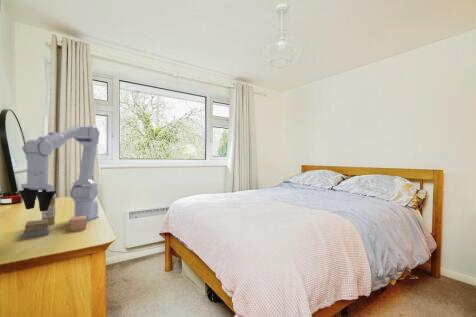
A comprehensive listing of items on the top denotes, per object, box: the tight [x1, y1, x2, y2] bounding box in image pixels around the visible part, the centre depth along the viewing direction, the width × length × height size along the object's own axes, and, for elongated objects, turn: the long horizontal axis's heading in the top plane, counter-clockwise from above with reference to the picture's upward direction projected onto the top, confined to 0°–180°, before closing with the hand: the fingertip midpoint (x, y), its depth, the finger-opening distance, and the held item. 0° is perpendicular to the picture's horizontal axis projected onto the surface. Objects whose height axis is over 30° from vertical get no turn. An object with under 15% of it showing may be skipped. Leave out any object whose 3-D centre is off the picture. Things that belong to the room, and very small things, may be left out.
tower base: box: [22, 225, 50, 239], centre depth 86 cm, size 7×7×2 cm
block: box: [70, 216, 87, 232], centre depth 93 cm, size 5×5×4 cm
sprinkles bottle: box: [41, 192, 57, 226], centre depth 98 cm, size 5×5×14 cm
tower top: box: [24, 219, 48, 232], centre depth 86 cm, size 6×6×2 cm
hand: (36, 209), depth 83 cm, fingers open, 7 cm apart
